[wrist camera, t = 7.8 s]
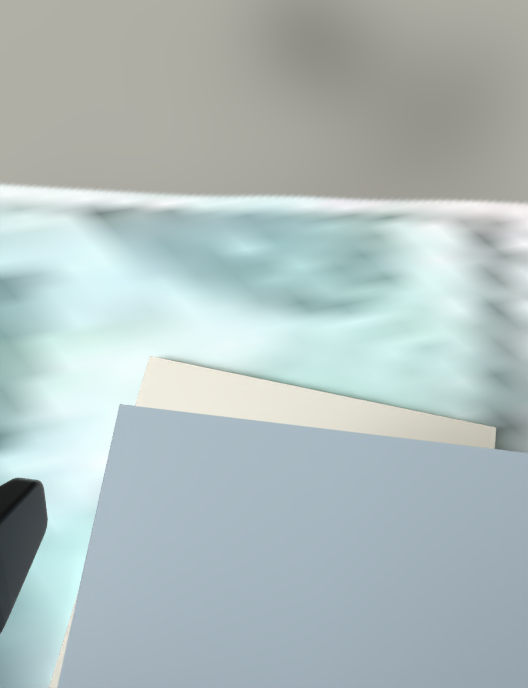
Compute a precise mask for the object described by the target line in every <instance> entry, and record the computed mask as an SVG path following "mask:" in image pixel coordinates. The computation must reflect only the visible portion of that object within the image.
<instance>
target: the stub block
mask: <svg viewBox="0 0 528 688" xmlns="http://www.w3.org/2000/svg"><path fill="white" fill-rule="evenodd" d="M57 688H528V453H523V452H515V451H506V450H498V449H490V448H481V447H473V446H465V445H456V444H448V443H440V442H431V441H423V440H415V439H406V438H398V437H390V436H381V435H373V434H365V433H356V432H348V431H340V430H331V429H323V428H314V427H306V426H298V425H289V424H281V423H273V422H264V421H256V420H248V419H239V418H231V417H223V416H214V415H206V414H198V413H189V412H181V411H173V410H164V409H156V408H148V407H139V406H131V405H123V404H120V406H119V410H118V415H117V419H116V424H115V428H114V433H113V437H112V442H111V446H110V451H109V455H108V460H107V464H106V469H105V473H104V478H103V483H102V487H101V492H100V496H99V501H98V505H97V510H96V514H95V519H94V523H93V528H92V532H91V537H90V541H89V546H88V550H87V555H86V560H85V564H84V569H83V573H82V578H81V582H80V587H79V591H78V596H77V600H76V605H75V609H74V614H73V618H72V623H71V627H70V632H69V637H68V641H67V646H66V650H65V655H64V659H63V664H62V668H61V673H60V677H59V682H58V686H57Z"/></svg>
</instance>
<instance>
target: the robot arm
mask: <svg viewBox="0 0 528 688" xmlns="http://www.w3.org/2000/svg"><path fill="white" fill-rule="evenodd" d="M47 520H48V519H47V509H46V501H45V493H44V487H43V484H42V483H41V482H40V481H38V480H33V479H25V478H15V479H12V480H10V481H8V482H6V483H5V484H3V485H1V486H0V634H1V632H2V630H3V628H4V626H5V624H6V622H7V620H8V618H9V615H10V613H11V611H12V609H13V606H14V604H15V602H16V599H17V597H18V595H19V592H20V590H21V588H22V585H23V583H24V581H25V578H26V576H27V574H28V571H29V569H30V567H31V564H32V562H33V560H34V557H35V555H36V553H37V550H38V548H39V546H40V543H41V541H42V539H43V536H44V534H45V531H46V528H47Z"/></svg>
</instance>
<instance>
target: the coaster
mask: <svg viewBox="0 0 528 688" xmlns="http://www.w3.org/2000/svg"><path fill="white" fill-rule="evenodd" d="M135 406H139V407H148V408H156V409H164V410H173V411H181V412H189V413H198V414H206V415H214V416H223V417H231V418H239V419H248V420H256V421H264V422H273V423H281V424H289V425H298V426H306V427H314V428H323V429H331V430H340V431H348V432H356V433H365V434H373V435H381V436H390V437H398V438H406V439H415V440H423V441H431V442H440V443H448V444H456V445H465V446H473V447H481V448H490V449H495V437H496V427H491V426H486V425H482V424H477V423H472V422H467V421H462V420H457V419H453V418H448V417H443V416H438V415H433V414H428V413H423V412H419V411H414V410H409V409H404V408H399V407H394V406H390V405H385V404H380V403H375V402H370V401H365V400H360V399H356V398H351V397H346V396H341V395H336V394H331V393H327V392H322V391H317V390H312V389H307V388H302V387H297V386H293V385H288V384H283V383H278V382H273V381H268V380H263V379H259V378H254V377H249V376H244V375H239V374H234V373H230V372H225V371H220V370H215V369H210V368H205V367H200V366H196V365H191V364H186V363H181V362H176V361H171V360H167V359H162V358H157V357H152V356H150V358H149V361H148V365H147V368H146V371H145V374H144V378H143V381H142V384H141V388H140V391H139V394H138V397H137V401H136V404H135ZM77 596H78V594H77ZM76 600H77V598H76ZM75 605H76V601H75V604H74V607H73V611H72V614H71V617H70V621H69V624H68V627H67V630H66V634H65V637H64V640H63V644H62V647H61V650H60V653H59V657H58V660H57V663H56V666H55V670H54V673H53V676H52V680H51V683H50V686H49V688H57V686H58V682H59V677H60V673H61V668H62V664H63V659H64V655H65V650H66V646H67V641H68V637H69V632H70V627H71V623H72V618H73V614H74V609H75Z"/></svg>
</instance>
